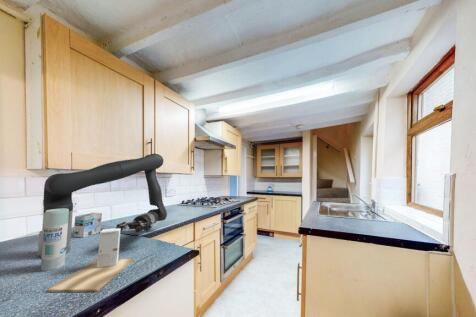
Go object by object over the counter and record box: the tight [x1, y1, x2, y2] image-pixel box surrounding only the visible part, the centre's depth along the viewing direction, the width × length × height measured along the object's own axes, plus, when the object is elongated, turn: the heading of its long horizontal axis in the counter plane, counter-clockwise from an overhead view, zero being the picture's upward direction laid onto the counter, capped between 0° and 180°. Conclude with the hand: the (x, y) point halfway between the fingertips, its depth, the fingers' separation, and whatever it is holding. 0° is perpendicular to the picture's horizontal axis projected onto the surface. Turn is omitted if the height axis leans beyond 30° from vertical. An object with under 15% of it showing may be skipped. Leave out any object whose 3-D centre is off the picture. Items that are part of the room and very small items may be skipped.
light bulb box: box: [73, 212, 103, 238], centre depth 108 cm, size 11×7×11 cm, turn 168°
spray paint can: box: [40, 208, 69, 272], centre depth 71 cm, size 6×6×20 cm
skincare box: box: [97, 227, 121, 268], centre depth 72 cm, size 6×4×12 cm
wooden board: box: [46, 258, 135, 293], centre depth 66 cm, size 14×20×1 cm
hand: (126, 230), depth 83 cm, fingers open, 8 cm apart
